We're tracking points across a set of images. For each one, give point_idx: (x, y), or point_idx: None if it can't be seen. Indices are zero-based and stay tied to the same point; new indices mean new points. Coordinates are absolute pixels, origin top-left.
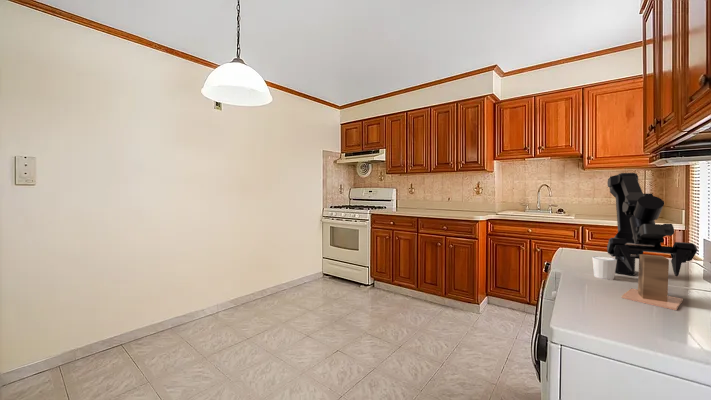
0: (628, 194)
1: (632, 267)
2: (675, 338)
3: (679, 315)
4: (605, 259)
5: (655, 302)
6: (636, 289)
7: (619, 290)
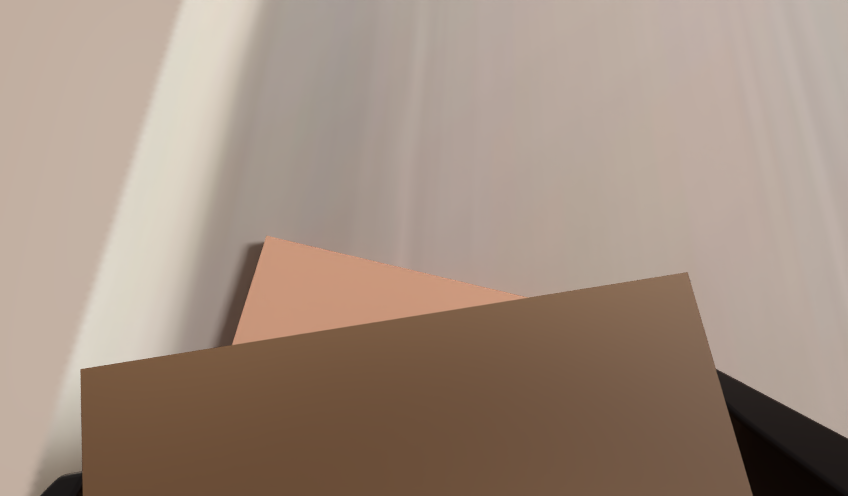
0: None
1: (721, 383)
2: None
3: (274, 127)
4: None
5: (389, 295)
6: None
7: None
